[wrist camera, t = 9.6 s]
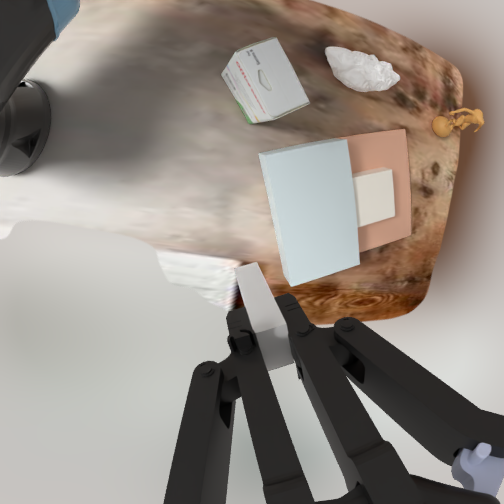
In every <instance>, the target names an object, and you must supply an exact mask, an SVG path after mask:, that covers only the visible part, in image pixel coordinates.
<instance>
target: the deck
mask: <svg viewBox="0 0 504 504" xmlns="http://www.w3.org/2000/svg"><path fill="white" fill-rule="evenodd" d="M258 154H259V159H260V163H261V168H262V172H263V177H264V181H265V186H266V190H267V195H268V200H269V204H270V209H271V214H272V219H273V223H274V228H275V233H276V238H277V243H278V248H279V253H280V258H281V263H282V268H283V273H284V276H285V277H286V279H287V281H288V282H289V284H290V286H291V287H292V286H296V285H299V284H302V283H305V282H308V281H311V280H314V279H317V278H320V277H323V276H326V275H329V274H332V273H335V272H338V271H341V270H344V269H347V268H350V267H353V266H356V265H359V264H360V261H359V243H358V229H357V217H356V206H355V197H354V188H353V179H352V171H351V164H350V157H349V150H348V144H347V139H337V138H332V139H326V140H321V141H315V142H310V143H305V144H299V145H294V146H290V147H285V148H280V149H275V150H271V151H266V152H262V153H258Z"/></svg>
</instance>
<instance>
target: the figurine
mask: <svg viewBox="0 0 504 504" xmlns="http://www.w3.org/2000/svg"><path fill="white" fill-rule="evenodd" d="M462 111H466V112H468V113H470V114H468V115H467V116H463V115H461V116H460V117H459V118H458V119H457V121H456V120H455V119H451V120H448V119H447V118H445V117H443V116H438V117H436V118H435V119H434V120H433V122H432V128H433V131H434V132H435V134H436V135H438V136H440V137H447V136H448V135H450V133H451V131H452V129H453V127H454V126H455V125H456V126H459V127H460V129H462V130H464V129H465V128H466V127H467V126H468V125H469V124H471V123H475V124H478V123H479V126H478V128H477V129H476V130H475V131H474V132H476V131H477V130H479V129H480V128H481V126H482V125H483V124H484V120H483V113H482V111H481V110H479V109H475V110H470V109H467V108H462V109H459V110H456V111H451V112H449V113H450V114H451V115H452V114H453V115H454V113H459V112H462ZM451 115H450V116H451ZM451 122H453V123H454V124H452V125H451ZM461 124H462V125H461Z"/></svg>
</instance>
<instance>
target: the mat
mask: <svg viewBox="0 0 504 504" xmlns="http://www.w3.org/2000/svg"><path fill="white" fill-rule="evenodd" d="M337 139H347V144H348V150H349V157H350V164H351V171H352V174H353V173H357V172H362V171H367V170H371V169H376V168H381V167H385V168H389V169H392V176H393V188H394V204H395V216H394V217H391V218H387V219H384V220H381V221H377V222H374V223H371V224H368V225H364V226H361V227H358V228H357V229H358V243H359V253H360V252H363V251H366V250H369V249H372V248H375V247H378V246H381V245H384V244H387V243H390V242H393V241H396V240H399V239H401V238H404V237H407V236H410V235H411V191H410V173H409V160H408V150H407V140H406V132H405V129H397V130H388V131H380V132H372V133H365V134H358V135H351V136H345V137H338V138H337Z"/></svg>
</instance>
